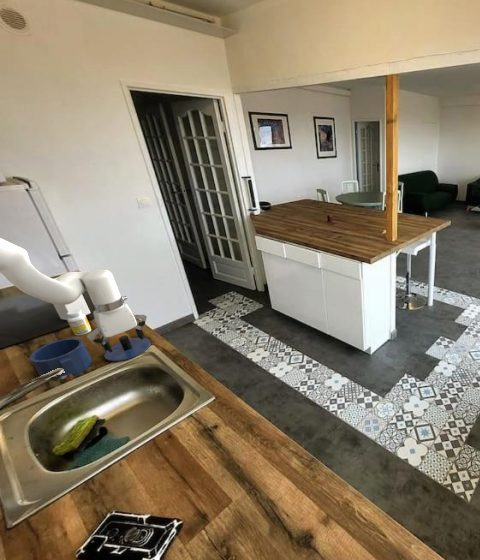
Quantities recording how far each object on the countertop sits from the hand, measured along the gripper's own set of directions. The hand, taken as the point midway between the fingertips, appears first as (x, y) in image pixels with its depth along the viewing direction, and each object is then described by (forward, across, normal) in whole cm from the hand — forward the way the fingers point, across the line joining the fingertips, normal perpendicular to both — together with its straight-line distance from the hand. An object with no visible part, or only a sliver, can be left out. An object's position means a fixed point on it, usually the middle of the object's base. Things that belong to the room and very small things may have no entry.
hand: (126, 344), depth 115 cm
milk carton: (+3, +4, -47) cm, 47 cm away
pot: (+3, +16, -5) cm, 17 cm away
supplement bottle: (+3, +6, -29) cm, 30 cm away
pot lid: (+2, 0, 0) cm, 2 cm away
